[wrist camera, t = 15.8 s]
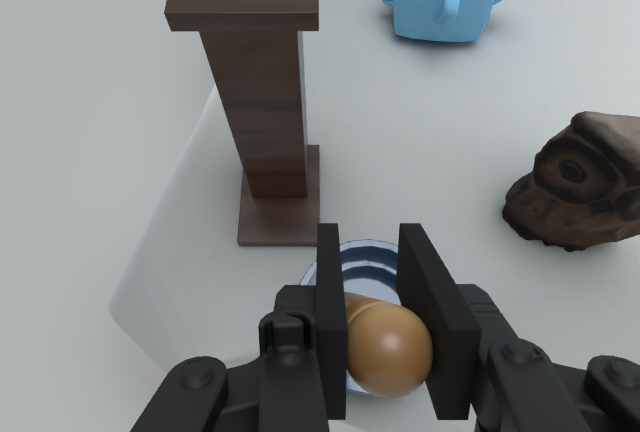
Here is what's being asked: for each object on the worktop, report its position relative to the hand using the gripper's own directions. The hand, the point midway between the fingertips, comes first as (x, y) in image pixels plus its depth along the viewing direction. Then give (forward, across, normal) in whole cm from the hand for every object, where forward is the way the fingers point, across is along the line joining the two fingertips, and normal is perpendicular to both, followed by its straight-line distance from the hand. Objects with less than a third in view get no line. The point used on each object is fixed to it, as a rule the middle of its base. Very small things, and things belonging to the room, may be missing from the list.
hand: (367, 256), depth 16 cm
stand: (+38, -7, -10) cm, 40 cm away
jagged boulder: (+37, +29, -12) cm, 48 cm away
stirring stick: (+3, 0, -5) cm, 6 cm away
